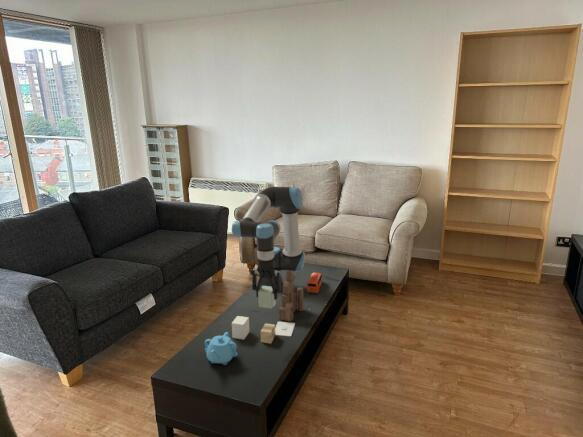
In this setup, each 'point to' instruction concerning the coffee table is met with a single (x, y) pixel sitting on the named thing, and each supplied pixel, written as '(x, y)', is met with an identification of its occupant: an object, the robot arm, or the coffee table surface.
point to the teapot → (220, 349)
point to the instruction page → (284, 328)
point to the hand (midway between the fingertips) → (267, 304)
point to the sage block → (265, 297)
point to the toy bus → (314, 283)
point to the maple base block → (268, 333)
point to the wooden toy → (290, 298)
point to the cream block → (240, 327)
